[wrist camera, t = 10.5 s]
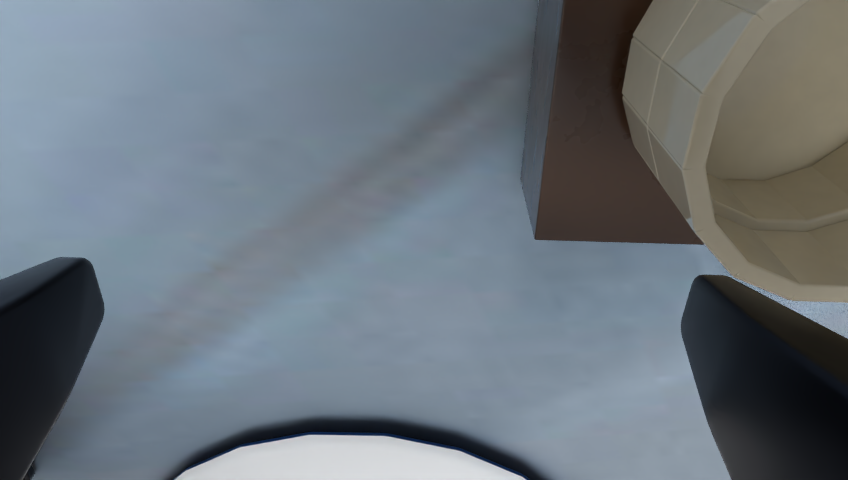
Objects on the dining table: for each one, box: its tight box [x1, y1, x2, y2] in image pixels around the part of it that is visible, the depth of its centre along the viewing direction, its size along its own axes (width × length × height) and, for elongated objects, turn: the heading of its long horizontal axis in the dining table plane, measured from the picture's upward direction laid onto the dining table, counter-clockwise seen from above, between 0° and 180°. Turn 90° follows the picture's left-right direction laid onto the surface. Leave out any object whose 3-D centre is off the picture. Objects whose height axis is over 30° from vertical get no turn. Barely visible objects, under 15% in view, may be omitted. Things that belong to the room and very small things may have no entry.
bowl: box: [622, 0, 848, 303], centre depth 12 cm, size 7×7×5 cm
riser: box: [521, 0, 705, 245], centre depth 16 cm, size 10×10×4 cm
